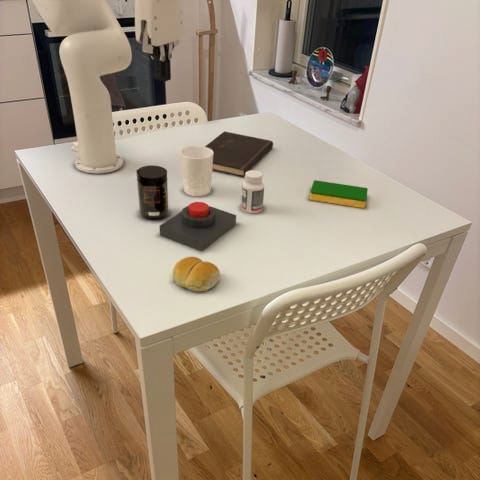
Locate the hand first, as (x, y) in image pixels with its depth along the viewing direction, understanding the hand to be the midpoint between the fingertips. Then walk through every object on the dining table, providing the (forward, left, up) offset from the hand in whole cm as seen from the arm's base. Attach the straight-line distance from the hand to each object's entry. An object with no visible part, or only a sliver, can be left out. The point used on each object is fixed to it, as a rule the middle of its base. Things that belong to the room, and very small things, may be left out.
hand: (162, 79), depth 110 cm
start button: (+16, -9, -23) cm, 29 cm away
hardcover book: (0, +31, -27) cm, 41 cm away
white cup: (+4, +7, -27) cm, 28 cm away
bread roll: (+26, -25, -27) cm, 45 cm away
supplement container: (+3, -9, -27) cm, 29 cm away
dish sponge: (+35, +25, -27) cm, 51 cm away
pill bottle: (+20, +7, -27) cm, 35 cm away
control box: (+16, -9, -27) cm, 32 cm away
